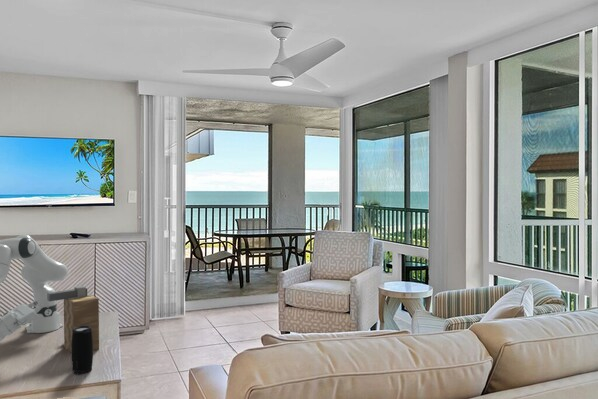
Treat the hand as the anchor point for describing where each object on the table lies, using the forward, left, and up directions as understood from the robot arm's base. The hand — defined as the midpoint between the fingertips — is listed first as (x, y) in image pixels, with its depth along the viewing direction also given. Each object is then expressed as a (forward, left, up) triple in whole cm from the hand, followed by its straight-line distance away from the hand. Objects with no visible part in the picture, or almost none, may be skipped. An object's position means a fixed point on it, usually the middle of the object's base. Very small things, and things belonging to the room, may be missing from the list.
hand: (39, 303), depth 226 cm
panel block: (+4, +18, -26) cm, 32 cm away
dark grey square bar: (0, +13, +1) cm, 13 cm away
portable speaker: (+35, +8, -26) cm, 44 cm away
